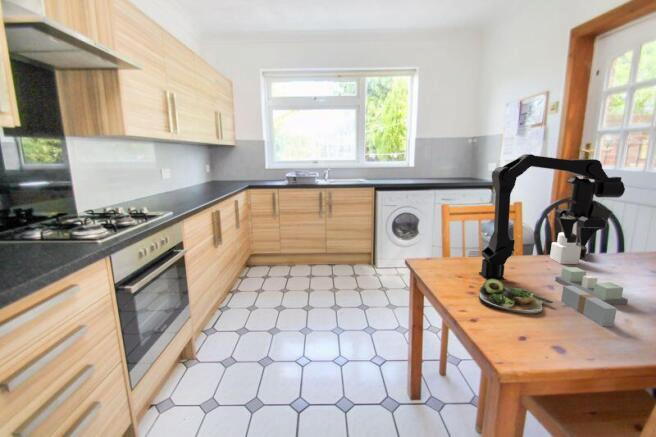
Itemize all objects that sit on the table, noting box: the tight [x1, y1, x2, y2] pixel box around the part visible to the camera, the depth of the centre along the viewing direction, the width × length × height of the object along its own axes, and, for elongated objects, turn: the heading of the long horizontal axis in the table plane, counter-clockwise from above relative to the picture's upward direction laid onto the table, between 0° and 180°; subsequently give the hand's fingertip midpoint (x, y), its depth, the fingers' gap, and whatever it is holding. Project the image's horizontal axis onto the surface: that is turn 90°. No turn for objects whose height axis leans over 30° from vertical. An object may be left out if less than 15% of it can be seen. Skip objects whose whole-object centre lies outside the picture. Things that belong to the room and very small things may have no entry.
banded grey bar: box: [560, 285, 618, 327], centre depth 87 cm, size 3×14×5 cm, turn 1°
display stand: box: [554, 266, 628, 306], centre depth 100 cm, size 8×18×5 cm, turn 1°
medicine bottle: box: [549, 231, 581, 265], centre depth 127 cm, size 7×7×12 cm
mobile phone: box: [575, 241, 588, 262], centre depth 133 cm, size 5×3×15 cm
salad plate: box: [478, 279, 553, 315], centre depth 95 cm, size 19×18×5 cm
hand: (574, 242), depth 107 cm, fingers open, 9 cm apart
